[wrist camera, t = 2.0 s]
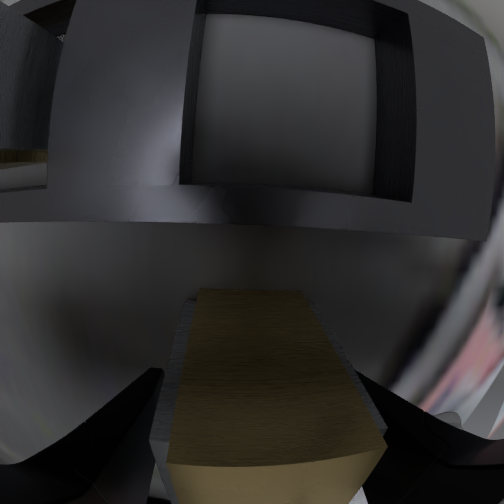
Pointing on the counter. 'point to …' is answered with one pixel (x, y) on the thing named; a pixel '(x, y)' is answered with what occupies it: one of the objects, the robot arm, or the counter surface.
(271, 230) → the counter surface
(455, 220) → the tray
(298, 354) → the gold metal block
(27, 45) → the tan-capped ribbed block
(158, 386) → the robot arm
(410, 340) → the counter surface
